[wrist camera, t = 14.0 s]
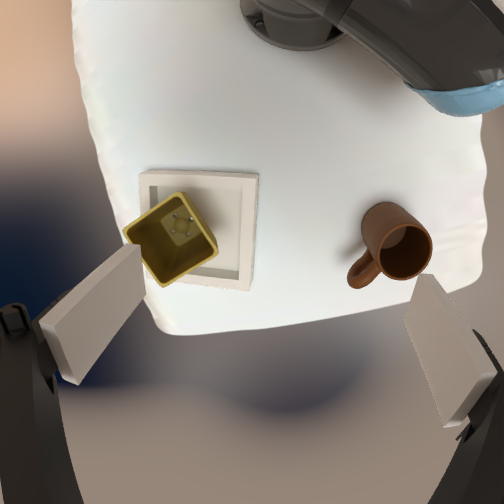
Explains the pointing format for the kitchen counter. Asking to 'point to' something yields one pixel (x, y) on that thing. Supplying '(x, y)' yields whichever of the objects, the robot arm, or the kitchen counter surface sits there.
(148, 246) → the flower pot
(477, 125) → the kitchen counter surface
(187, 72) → the kitchen counter surface
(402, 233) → the mug
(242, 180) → the white square tray
